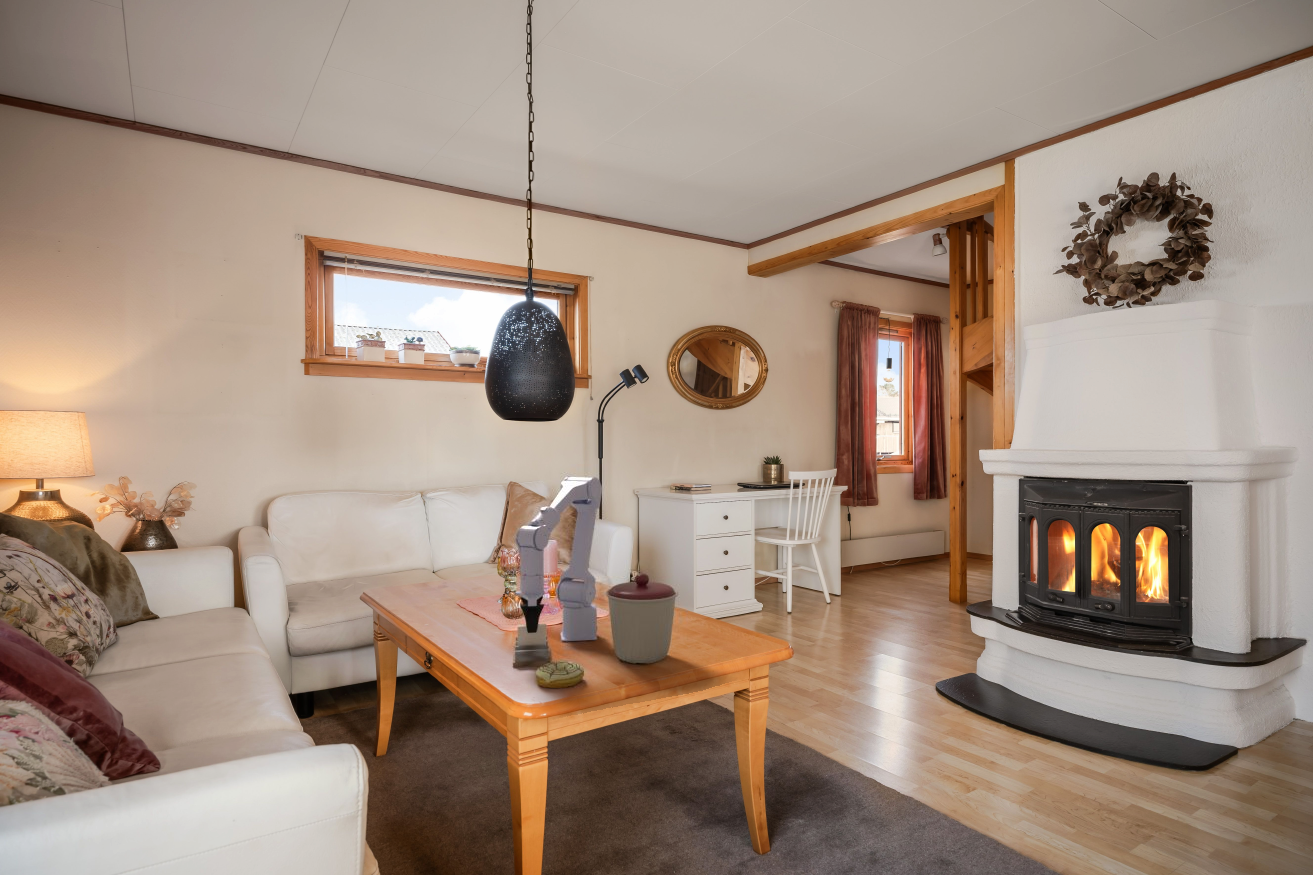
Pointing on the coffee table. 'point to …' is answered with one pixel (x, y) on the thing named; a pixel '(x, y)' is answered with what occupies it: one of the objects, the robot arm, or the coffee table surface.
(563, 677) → the decorated donut
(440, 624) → the coffee table surface
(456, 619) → the coffee table surface
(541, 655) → the dish rack
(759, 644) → the coffee table surface
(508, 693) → the coffee table surface
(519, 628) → the upright cream panel
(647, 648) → the canister
